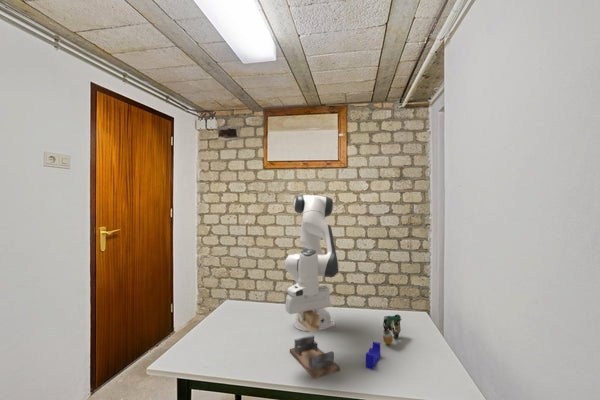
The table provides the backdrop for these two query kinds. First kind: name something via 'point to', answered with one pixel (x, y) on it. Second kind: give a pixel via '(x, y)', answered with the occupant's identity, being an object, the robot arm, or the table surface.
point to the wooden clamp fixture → (313, 357)
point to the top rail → (310, 320)
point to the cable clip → (373, 355)
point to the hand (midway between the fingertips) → (308, 320)
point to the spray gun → (391, 328)
